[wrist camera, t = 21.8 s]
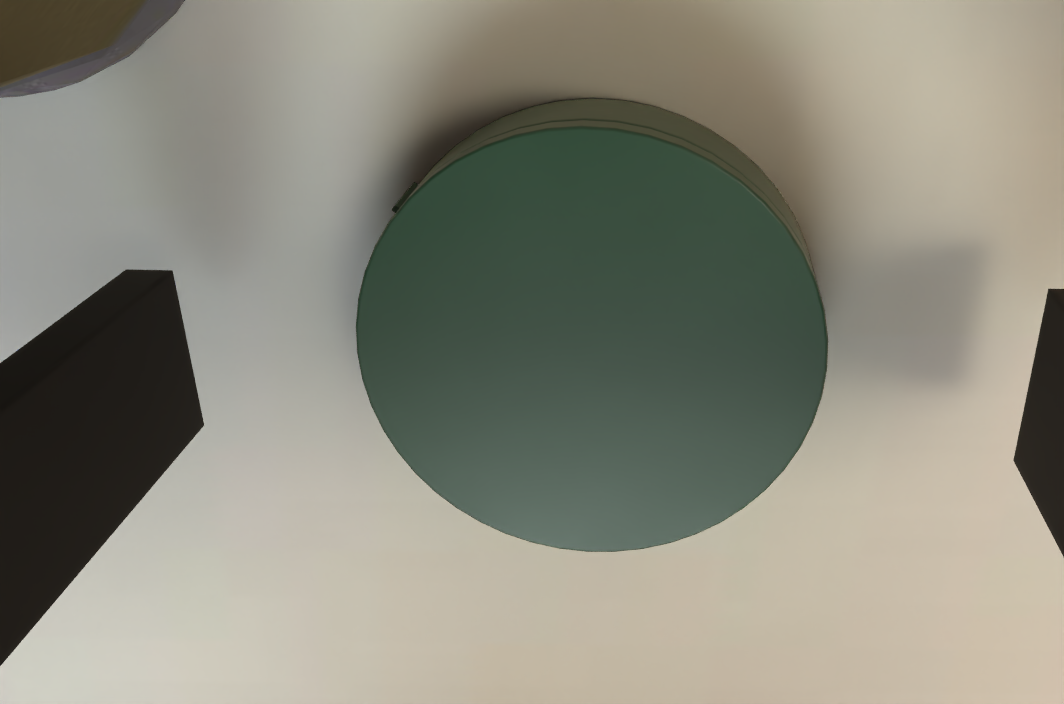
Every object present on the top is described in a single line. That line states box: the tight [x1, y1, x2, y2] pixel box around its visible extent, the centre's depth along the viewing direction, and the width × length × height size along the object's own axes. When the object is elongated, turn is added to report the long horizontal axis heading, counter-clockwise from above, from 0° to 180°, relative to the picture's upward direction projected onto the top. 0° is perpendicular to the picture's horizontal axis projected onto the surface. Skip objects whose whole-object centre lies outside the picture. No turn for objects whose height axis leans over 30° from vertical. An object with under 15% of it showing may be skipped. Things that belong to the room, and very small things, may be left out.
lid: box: [356, 99, 828, 552], centre depth 16 cm, size 7×7×2 cm
